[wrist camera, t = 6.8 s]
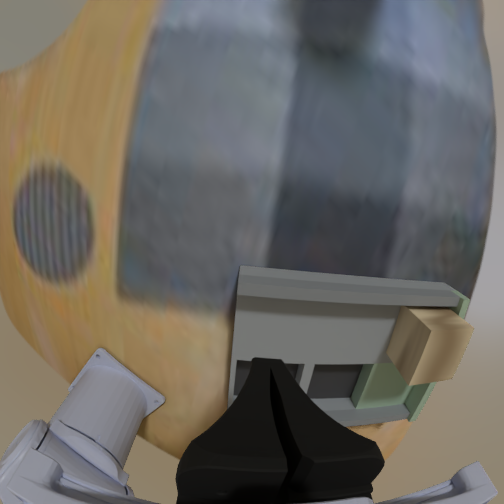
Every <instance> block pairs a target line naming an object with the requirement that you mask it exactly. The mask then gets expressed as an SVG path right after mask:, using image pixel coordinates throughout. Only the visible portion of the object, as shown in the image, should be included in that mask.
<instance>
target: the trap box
mask: <svg viewBox="0 0 504 504" xmlns="http://www.w3.org/2000/svg"><path fill="white" fill-rule="evenodd" d="M469 302H470V299H468V298H467V297H465V296H464V295H462V294H461V293H459V292H458V291H456V290H455V289H453V288H452V287H450V286H449V285H447V284H445V283H441V282H427V281H414V280H401V279H388V278H376V277H363V276H352V275H340V274H328V273H317V272H306V271H295V270H284V269H274V268H263V267H253V266H243V265H240V271H239V279H238V289H237V302H236V313H235V324H234V335H233V347H232V358H231V370H230V382H229V394H228V406H227V409H228V408H229V407H230V406H231V404H232V403H233V402H234V400H235V399H236V397H237V396H238V394H239V393H240V391H241V389H242V387H243V386H244V384H245V381H246V379H247V377H248V375H249V372H250V368H251V361H252V359H253V358H254V357H259V358H272V359H282V361H283V362H284V363H285V365H286V367H287V368H288V370H289V371H290V373H291V374H292V376H293V377H294V379H295V380H296V382H297V383H298V384H299V386H300V387H301V388H302V389H303V391H304V392H305V393H306V394H307V395H308V397H309V398H310V399H311V400H312V401H313V402H314V403H315V404H316V405H317V406H318V407H319V408H320V409H322V410H323V411H324V412H325V413H326V414H327V415H329V416H330V417H331V418H333V419H334V420H335V421H337V422H338V423H340V424H341V425H343V426H344V427H348V426H359V425H368V424H376V423H383V422H390V421H396V420H402V419H408V421H409V422H411V421H415V420H416V419H417V417H418V415H419V414H420V412H421V410H422V409H423V407H424V405H425V403H426V401H427V400H428V398H429V396H430V394H431V392H432V390H433V388H434V386H435V384H436V382H431V383H425V384H418V385H411V386H408V384H407V383H406V381H405V380H404V378H403V377H402V375H401V374H400V372H399V371H398V370H397V368H396V367H395V365H394V364H393V362H392V361H391V359H390V358H389V356H388V355H387V354H386V351H387V348H388V346H389V343H390V340H391V337H392V334H393V331H394V328H395V325H396V321H397V318H398V315H399V312H400V308H401V306H447V307H448V308H449V309H451V310H452V311H453V312H455V313H456V314H457V315H458V316H460V317H461V318H462V319H464V317H465V314H466V311H467V308H468V305H469Z"/></svg>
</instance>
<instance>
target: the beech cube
mask: <svg viewBox="0 0 504 504" xmlns="http://www.w3.org/2000/svg"><path fill="white" fill-rule="evenodd" d="M473 330H474V328H473V327H472V326H471V325H470V324H468V323H467V322H466V321H465V320H464V319H462V318H461V317H460V316H458V315H457V314H456V313H455V312H453V311H452V310H451V309H449V308H448V307H447V306H401V308H400V312H399V315H398V318H397V321H396V325H395V328H394V331H393V334H392V337H391V340H390V343H389V346H388V348H387V351H386V354H387V355H388V356H389V358H390V359H391V361H392V362H393V364H394V365H395V367H396V368H397V370H398V371H399V372H400V374H401V375H402V377H403V378H404V380H405V381H406V383H407V384H408V386H411V385H418V384H425V383H431V382H438V381H443V380H449V379H452V378H453V376H454V374H455V372H456V370H457V367H458V365H459V363H460V361H461V359H462V357H463V355H464V352H465V350H466V348H467V345H468V343H469V341H470V338H471V336H472V333H473Z"/></svg>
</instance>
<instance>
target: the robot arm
mask: <svg viewBox="0 0 504 504" xmlns="http://www.w3.org/2000/svg"><path fill="white" fill-rule="evenodd" d="M98 355H99V356H98ZM68 390H69V392H70V393H69V394H68V396H67V397H66V399H65V400H64V401H63V403H62V404H61V406H60V407H59V408H58V410H57V412H56V413H55V414H54V416H53V417H52V418H51V420H50V422H49V423H48V424H46V423H45V422H44V421H43V420H32V421H30V422H29V423H28V424H27V425H26V426H25V427H24V428H23V429H22V430H21V431H20V433H19V434H18V435H17V436H16V437H15V439H14V440H13V441H12V442H11V444H10V445H9V447H8V448H7V450H6V451H5V453H4V455H3V457H2V459H1V461H0V499H1V501H2V503H3V504H159V503H154V502H150V501H146V500H142V499H138V498H135V497H134V493H133V490H132V489H131V488H130V487H129V486H128V485H126V483H127V480H128V478H129V475H128V474H127V473H126V472H124V471H123V467H124V465H125V462H126V460H127V457H128V455H129V452H130V449H131V447H132V444H133V441H134V439H135V437H136V434H137V432H138V429H139V427H140V424H141V422H142V419H143V418H145V417H146V416H147V415H149V414H150V413H151V412H153V411H154V410H155V409H156V408H158V407H159V406H160V405H162V404H163V403H164V402H165V397H164V396H163V395H161V394H160V393H158V392H157V391H156V390H154V389H153V388H152V387H150V386H149V385H148V384H146V383H145V382H144V381H142V380H141V379H140V378H138V377H137V376H136V375H134V374H133V373H132V372H131V371H129V370H128V369H127V368H126V367H124V366H123V365H122V364H121V363H119V362H118V361H117V360H116V359H115V358H113V357H112V356H111V355H110V354H109V353H108V352H106V351H105V350H104V349H103V348H98V349H97V350H96V351H95V353H94V354H93V355H92V357H91V358H90V359H89V361H88V362H87V363H86V365H85V366H84V367H83V369H82V370H81V372H80V373H79V374H78V376H77V377H76V378H75V380H74V381H73V383H72V384H71V385H70V387H69V388H68ZM384 463H385V461H384V459H383V456H382V454H381V451H380V449H379V447H378V446H377V444H376V442H375V441H372V440H370V439H368V438H365V437H363V436H361V435H359V434H357V433H355V432H353V431H351V430H349V429H348V428H346V427H344V426H343V425H341V424H340V423H338V422H337V421H335V420H334V419H333V418H331V417H330V416H329V415H327V414H326V413H325V412H324V411H323V410H322V409H320V408H319V407H318V406H317V405H316V404H315V403H314V402H313V401H312V400H311V399H310V398H309V397H308V395H307V394H306V393H305V392H304V391H303V389H302V388H301V387H300V386H299V384H298V383H297V382H296V380H295V379H294V377H293V376H292V374H291V373H290V371H289V370H288V368H287V367H286V365H285V363H284V362H283V361H282V359H272V358H259V357H254V358H253V359H252V361H251V368H250V372H249V375H248V377H247V379H246V381H245V384H244V386H243V387H242V389H241V391H240V393H239V394H238V396H237V397H236V399H235V400H234V402H233V403H232V404H231V406H230V407H229V408H228V409H227V411H226V412H225V413H224V414H223V415H222V416H221V417H220V418H219V419H218V420H217V421H216V422H215V423H214V424H213V425H212V426H211V427H210V428H209V429H208V430H206V431H205V432H204V433H202V434H201V435H200V436H198V437H197V438H195V439H194V440H192V441H191V443H190V444H189V446H188V447H187V449H186V450H185V452H184V454H183V455H182V457H181V459H180V462H179V464H178V468H177V473H176V484H177V490H178V497H177V502H176V504H374V503H373V500H372V497H371V493H372V491H373V487H372V484H371V482H372V481H373V480H374V479H375V478H376V477H377V475H378V474H379V473H380V472H381V470H382V468H383V467H384ZM497 493H498V492H497V490H496V488H495V487H494V485H493V484H492V482H491V480H490V479H489V477H488V475H487V474H486V472H485V471H484V469H483V467H482V466H481V464H480V463H479V461H476V462H474V463H472V464H470V465H468V466H465V467H464V468H462V469H460V470H459V471H458V472H457V473H456V474H455V475H454V476H453V477H452V479H450V480H448V481H445V482H443V483H440V484H437V485H435V486H432V487H429V488H427V489H424V490H421V491H418V492H415V493H412V494H409V495H405V496H402V497H398V498H395V499H392V500H387V501H383V502H379V503H375V504H487V503H488V502H489V501H490V500H491V499H492V498H494V497H495V496H496V495H497Z"/></svg>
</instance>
